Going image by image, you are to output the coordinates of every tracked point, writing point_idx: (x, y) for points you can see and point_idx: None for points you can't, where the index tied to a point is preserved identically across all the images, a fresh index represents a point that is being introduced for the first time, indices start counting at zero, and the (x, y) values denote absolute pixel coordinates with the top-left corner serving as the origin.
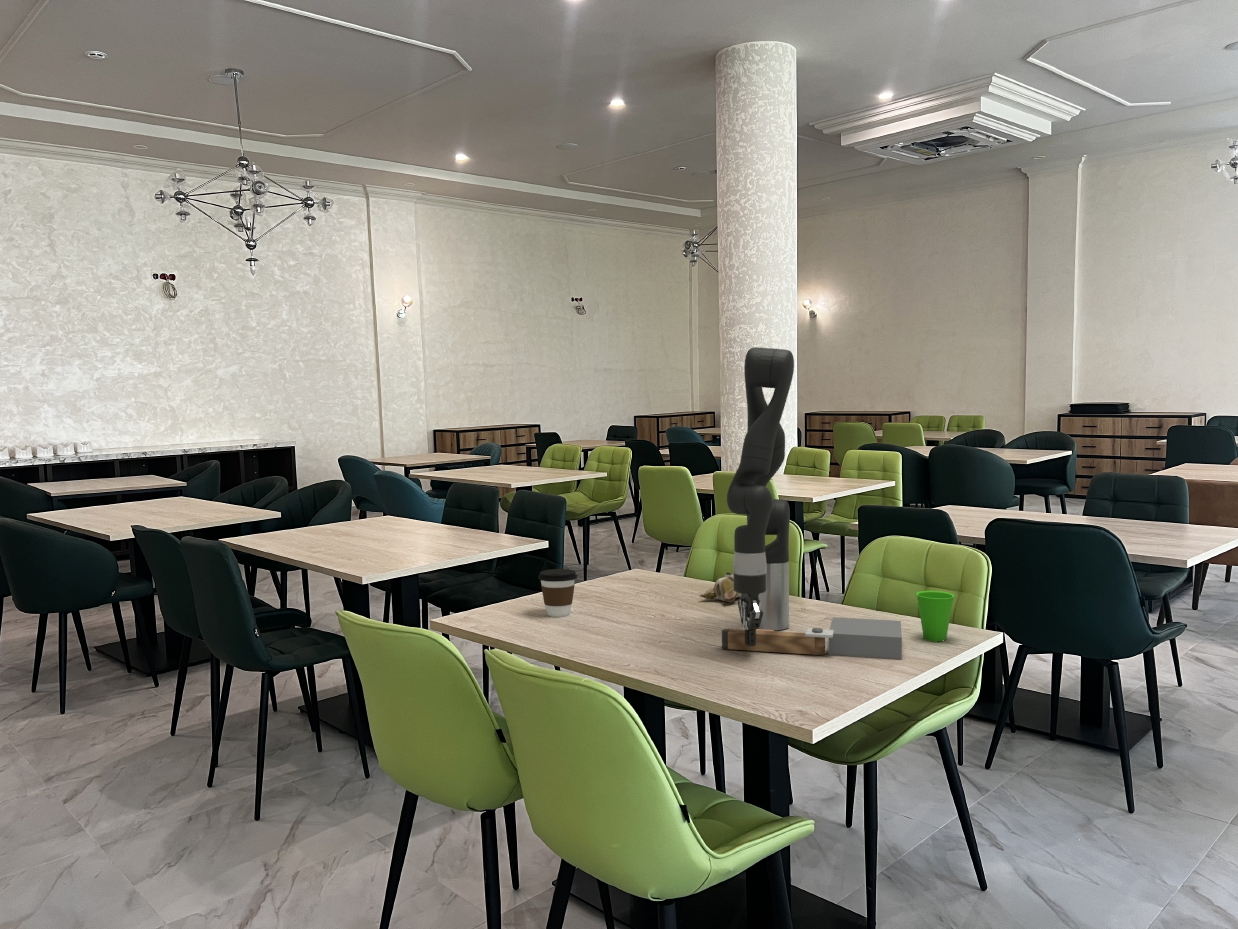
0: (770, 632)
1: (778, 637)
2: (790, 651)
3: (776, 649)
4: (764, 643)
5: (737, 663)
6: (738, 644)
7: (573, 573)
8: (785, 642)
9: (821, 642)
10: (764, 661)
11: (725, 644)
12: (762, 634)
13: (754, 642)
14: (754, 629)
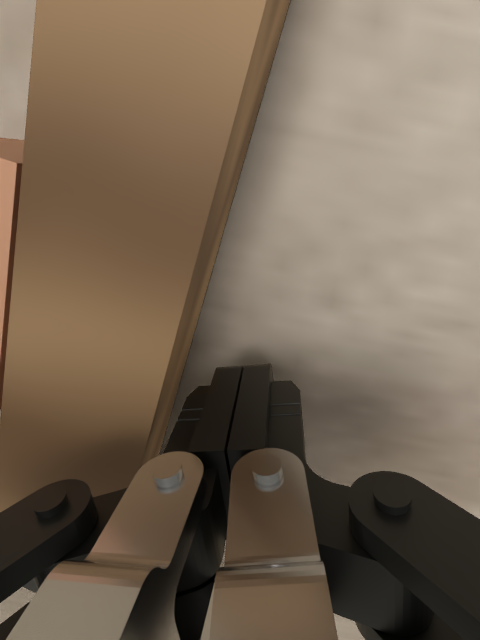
0: (89, 208)
1: (233, 127)
2: (284, 12)
3: (241, 158)
4: (204, 272)
5: (449, 469)
6: (157, 443)
7: None
8: (264, 43)
9: None
10: (448, 299)
11: None
12: (179, 318)
13: (298, 392)
14: (341, 497)
